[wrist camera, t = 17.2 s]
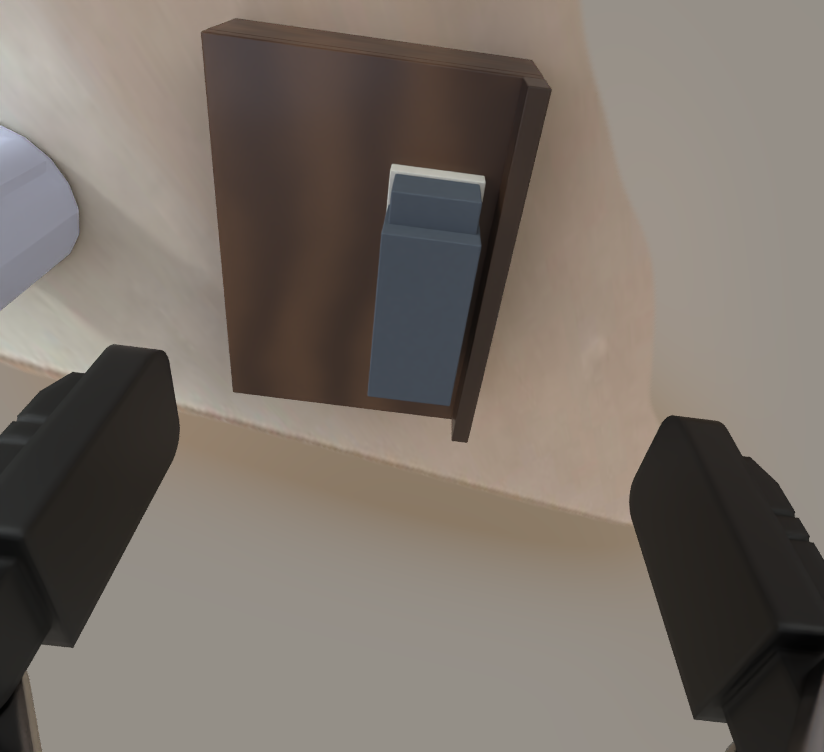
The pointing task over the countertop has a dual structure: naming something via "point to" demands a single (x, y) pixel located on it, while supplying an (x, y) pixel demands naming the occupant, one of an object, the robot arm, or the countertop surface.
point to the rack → (352, 194)
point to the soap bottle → (31, 215)
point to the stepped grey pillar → (424, 283)
